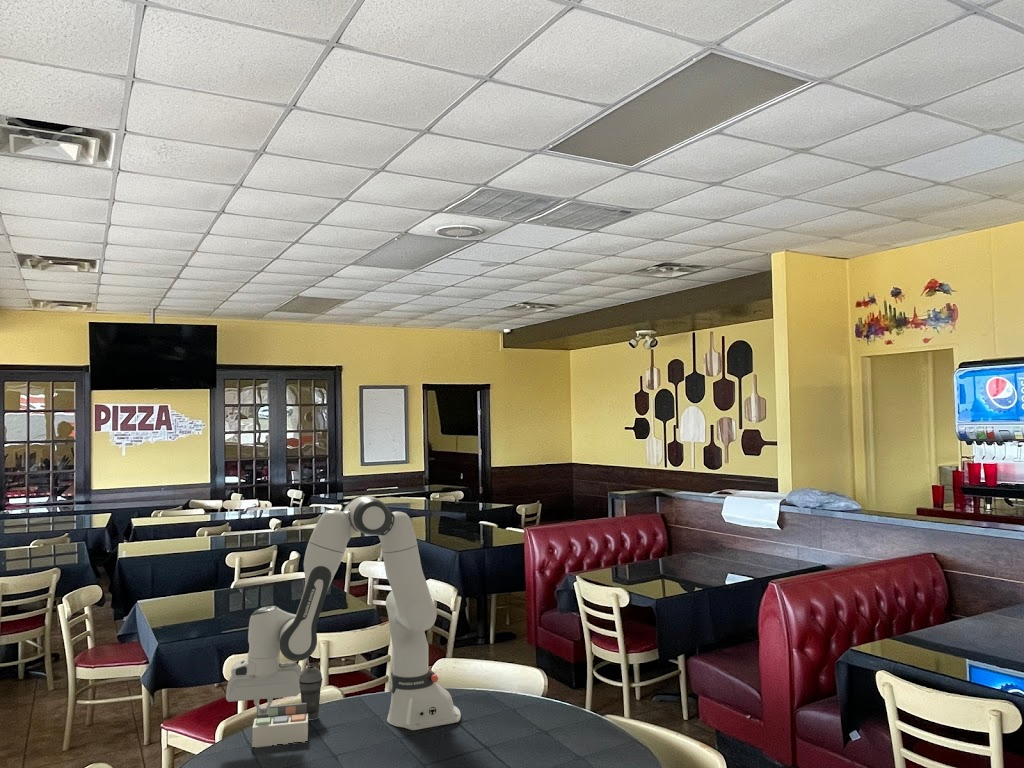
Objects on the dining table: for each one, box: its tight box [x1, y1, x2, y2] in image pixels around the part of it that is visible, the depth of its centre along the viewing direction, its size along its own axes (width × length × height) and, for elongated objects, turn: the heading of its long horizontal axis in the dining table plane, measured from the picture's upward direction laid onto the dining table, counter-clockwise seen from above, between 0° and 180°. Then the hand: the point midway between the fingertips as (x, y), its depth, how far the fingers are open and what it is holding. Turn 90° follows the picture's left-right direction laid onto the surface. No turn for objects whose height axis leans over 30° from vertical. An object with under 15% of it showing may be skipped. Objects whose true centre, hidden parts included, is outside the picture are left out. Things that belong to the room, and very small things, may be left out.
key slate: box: [274, 716, 288, 724], centre depth 219 cm, size 4×4×2 cm
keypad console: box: [251, 702, 309, 748], centre depth 220 cm, size 15×9×8 cm, turn 104°
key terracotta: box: [292, 714, 305, 722], centre depth 220 cm, size 4×4×2 cm
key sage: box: [256, 717, 271, 726], centre depth 218 cm, size 4×4×2 cm
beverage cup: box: [299, 656, 323, 720], centre depth 236 cm, size 7×7×20 cm
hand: (263, 713), depth 218 cm, fingers closed
